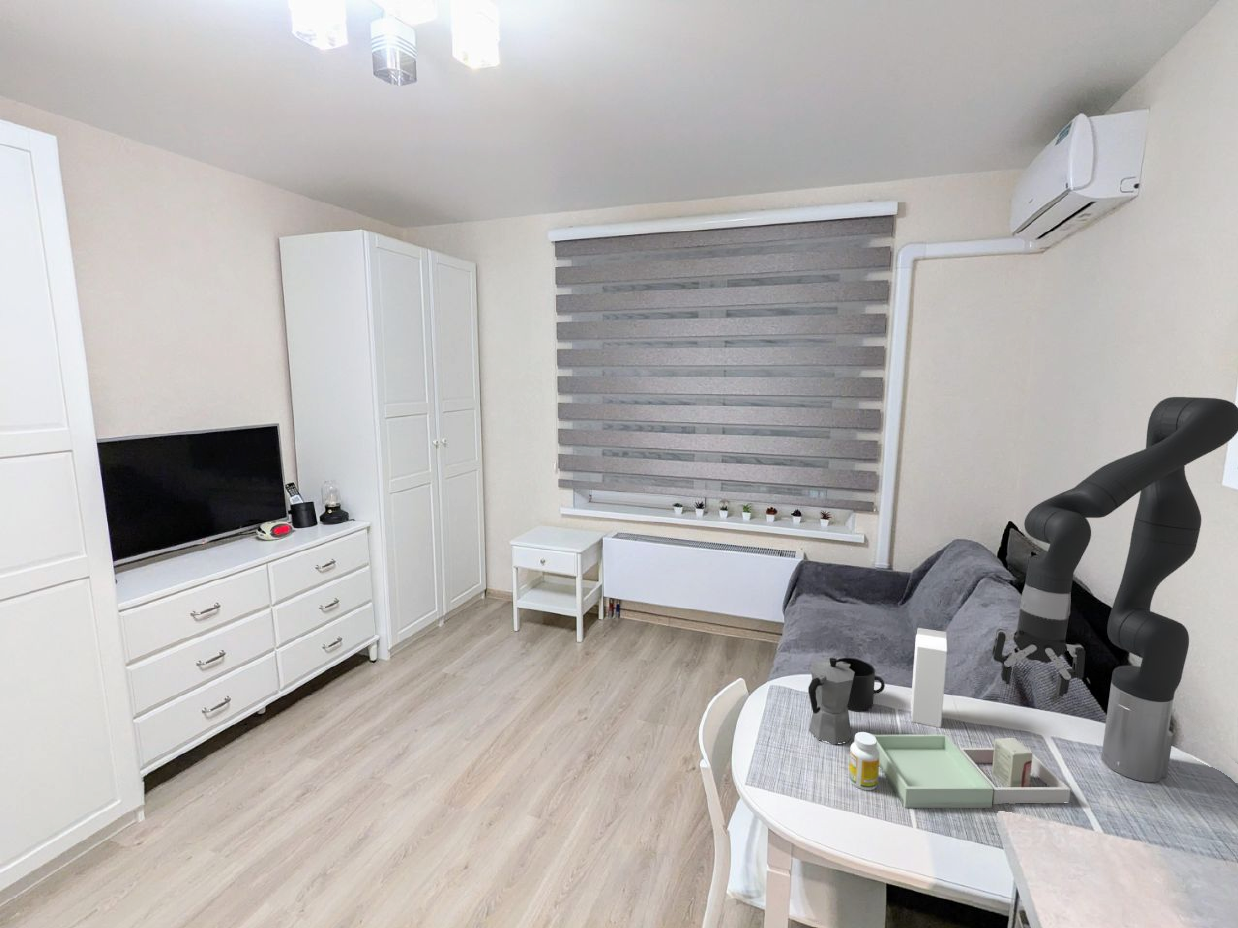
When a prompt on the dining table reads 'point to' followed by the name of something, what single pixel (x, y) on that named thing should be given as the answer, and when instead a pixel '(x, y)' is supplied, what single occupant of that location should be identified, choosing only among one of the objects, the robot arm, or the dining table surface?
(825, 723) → the coffeepot
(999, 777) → the small box
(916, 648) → the milk
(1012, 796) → the frame
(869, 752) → the supplement bottle
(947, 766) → the bin
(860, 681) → the mug
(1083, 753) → the dining table surface
